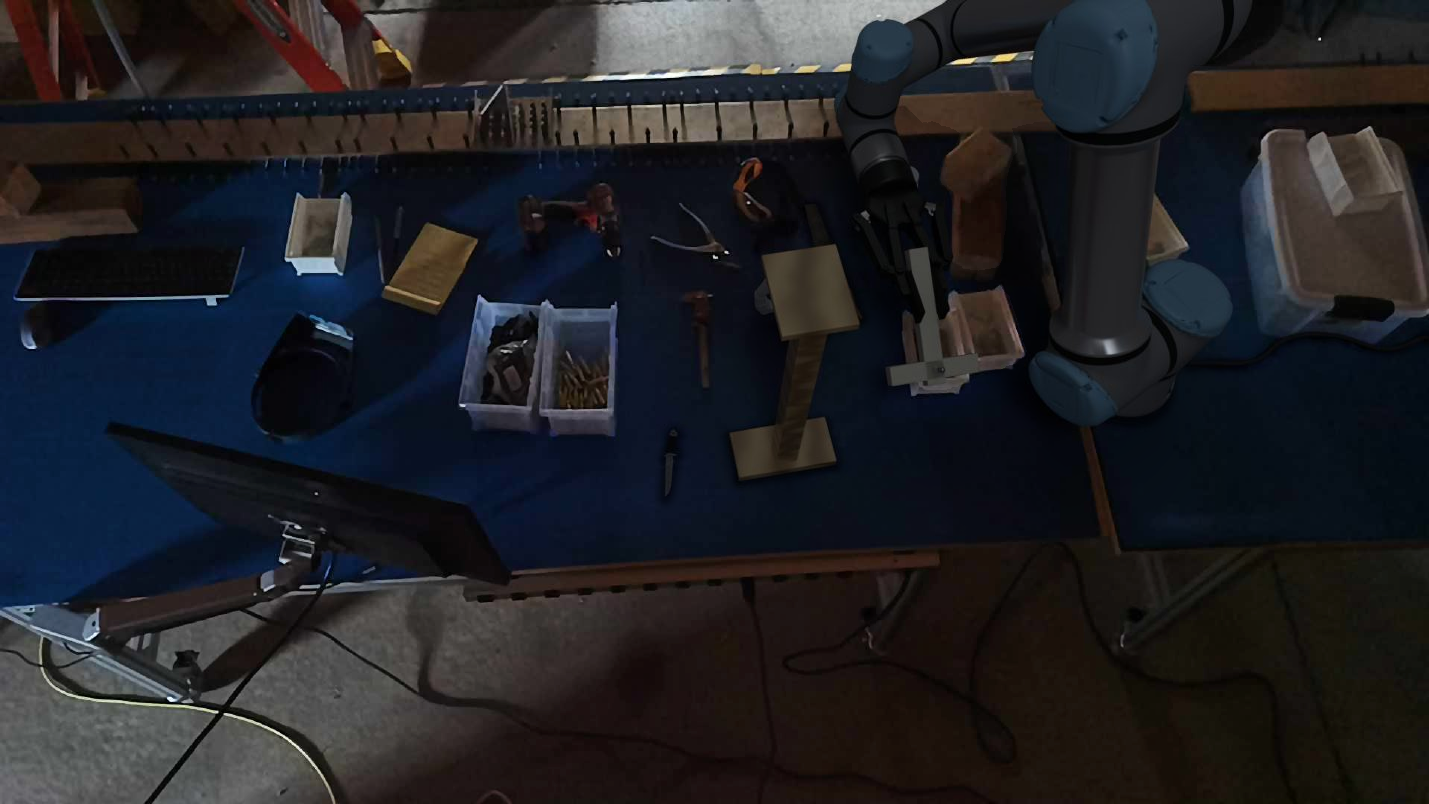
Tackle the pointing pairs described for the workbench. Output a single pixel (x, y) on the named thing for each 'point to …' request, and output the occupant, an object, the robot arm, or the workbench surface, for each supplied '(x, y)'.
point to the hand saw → (821, 235)
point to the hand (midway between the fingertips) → (932, 315)
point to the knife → (669, 460)
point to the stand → (798, 361)
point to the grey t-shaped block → (928, 336)
